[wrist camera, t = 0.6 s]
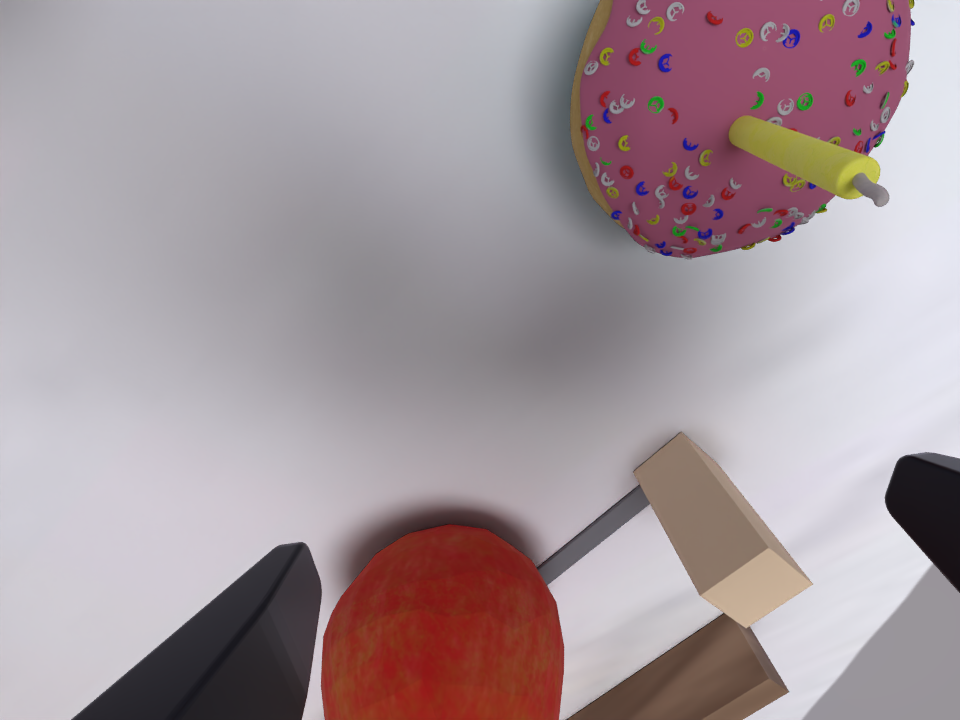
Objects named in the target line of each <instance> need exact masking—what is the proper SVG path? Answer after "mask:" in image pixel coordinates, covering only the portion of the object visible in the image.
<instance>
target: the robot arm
mask: <svg viewBox="0 0 960 720" xmlns="http://www.w3.org/2000/svg"><path fill="white" fill-rule="evenodd" d="M885 503H886V507H887V509H888V511H889V513H890V514H891V516H892V517H893V518H894V519H895V520H896V522H897V523H898V524H899V525H900V526H901V527H902V528H903V530H904V531H905V532H906V533H907V534H908V535H909V536H910V537H911V539H912V540H913V541H914V542H915V543H916V544H917V545H918V547H919V548H920V549H921V550H922V551H923V552H924V553H925V554H926V556H927V557H928V558H929V559H930V560H931V561H932V562H933V564H934V565H935V566H936V567H937V568H938V569H939V570H940V572H942V574H943V575H944V576H945V577H946V578H947V579H948V581H949V582H950V583H951V584H952V585H953V586H954V587H955V588H956V589H957V590H958V591H959V593H960V459H959V458H955V457H950V456H946V455H941V454H937V453H929V452H925V453H918V454H911V455H905V456H903V457H901V458H900V459H899V460H898V461H897V463H896V466H895V468H894V471H893V474H892V477H891V480H890V483H889V485H888V488H887V491H886V494H885ZM321 597H322V589H321V581H320V577H319V575H318V572H317V569H316V566H315V564H314V561H313V558H312V555H311V552H310V550H309V547H308V546H307V545H306V544H305V543H303V542H297V543H290V544H283V545H279V546H277V547H275V548H274V549H273V550H272V551H270V552H269V553H268V554H267V555H266V556H264V557H263V558H262V559H261V560H260V561H259V562H257V563H256V564H255V565H254V566H253V567H251V568H250V569H249V570H248V571H247V572H245V573H244V574H243V575H242V576H241V577H240V578H238V579H237V580H236V581H235V582H234V583H232V584H231V585H230V586H229V587H228V588H227V589H225V590H224V591H223V592H222V593H221V594H219V595H218V596H217V597H216V598H215V599H214V600H212V601H211V602H210V603H209V604H208V605H206V606H205V607H204V608H203V609H202V610H200V611H199V612H198V613H197V614H196V615H195V616H193V617H192V618H191V619H190V620H189V621H187V622H186V623H185V624H184V625H183V626H182V627H180V628H179V629H178V630H177V631H176V632H174V633H173V634H172V635H171V636H170V637H169V638H167V639H166V640H165V641H164V642H163V643H161V644H160V645H159V646H158V647H157V648H156V649H154V650H153V651H152V652H151V653H150V654H148V655H147V656H146V657H145V658H144V659H142V660H141V661H140V662H139V663H138V664H137V665H135V666H134V667H133V668H132V669H131V670H129V671H128V672H127V673H126V674H125V675H124V676H122V677H121V678H120V679H119V680H118V681H116V682H115V683H114V684H113V685H112V686H111V687H109V688H108V689H107V690H106V691H105V692H103V693H102V694H101V695H100V696H99V697H97V698H96V699H95V700H94V701H93V702H92V703H90V704H89V705H88V706H87V707H86V708H84V709H83V710H82V711H81V712H80V713H79V714H77V715H76V716H75V717H74V718H73V719H71V720H302V716H303V712H304V707H305V703H306V698H307V693H308V687H309V681H310V674H311V668H312V661H313V654H314V647H315V640H316V633H317V626H318V619H319V612H320V605H321Z"/></svg>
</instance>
